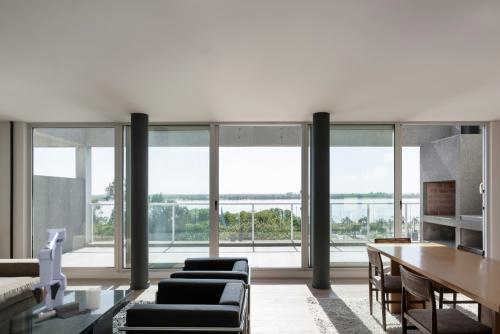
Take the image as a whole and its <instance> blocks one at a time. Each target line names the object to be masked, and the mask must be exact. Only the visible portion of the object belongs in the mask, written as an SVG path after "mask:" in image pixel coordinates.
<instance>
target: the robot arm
mask: <svg viewBox="0 0 500 334" xmlns="http://www.w3.org/2000/svg"><path fill="white" fill-rule="evenodd" d="M44 235H45V236H44V237H45V240H46V241H45V242H44V243H43V246H42V249H41V250H38V252H37V253H38V255H37V259H38V265H39V283H35V284H31V285H30V289H29V290H30V291H31V293H32V294H33V296H34V299H35V302H36V304H38V305H40V304H41V303H42V302H41V299H42V298H41V296H42V291H43V289H41V288H45V290H46V293H47V294H46V295H45V307H44V308H43V309H44V310H49V311H53V307H56V306H59V305H63V304H65V302H64V299H65V297H64V294H65V292H64V291H66V290H67V286H68V281H67V280H68V279H67V275H65V274H64V273H62V261H63V260H62V258H63V257H62V252H63V251H62V250H63V244H66V242H67V229H66V228H65V227H63V228H51V229H50V228H48V229H46V230H45V234H44Z"/></svg>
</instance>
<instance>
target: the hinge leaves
mask: <svg viewBox="0 0 500 334" xmlns="http://www.w3.org/2000/svg"><path fill="white" fill-rule="evenodd" d="M53 310H57V315H53V316H52V317H55V316H56V317H57V318H61V319H68V318H71V317H74V316H73V315H75V316H77V315H76V314H78V315H80V314H79V313H81V314H83V313H82V312H84V313H86V312H87V308H85V309H84V308H80V302H79V301H70V302H68V303H64V304H63V305H59V306H56V307H53ZM53 310H52V311H53ZM50 311H51V310H49V311H48V312H50Z"/></svg>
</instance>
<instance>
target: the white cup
mask: <svg viewBox="0 0 500 334" xmlns="http://www.w3.org/2000/svg"><path fill="white" fill-rule="evenodd" d="M101 299H102V287H90V288H86V290H85V300H86V310H95V309H96V310H97V309H99V308H101Z"/></svg>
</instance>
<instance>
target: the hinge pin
mask: <svg viewBox="0 0 500 334" xmlns="http://www.w3.org/2000/svg"><path fill="white" fill-rule="evenodd" d="M49 311H50V312H49ZM49 311H46V312H39V313H38V314H37V319H38V320H39V321H43V320H44V319H46V318H49V317H54V316H53V315H56V316H57V310H49Z"/></svg>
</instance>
